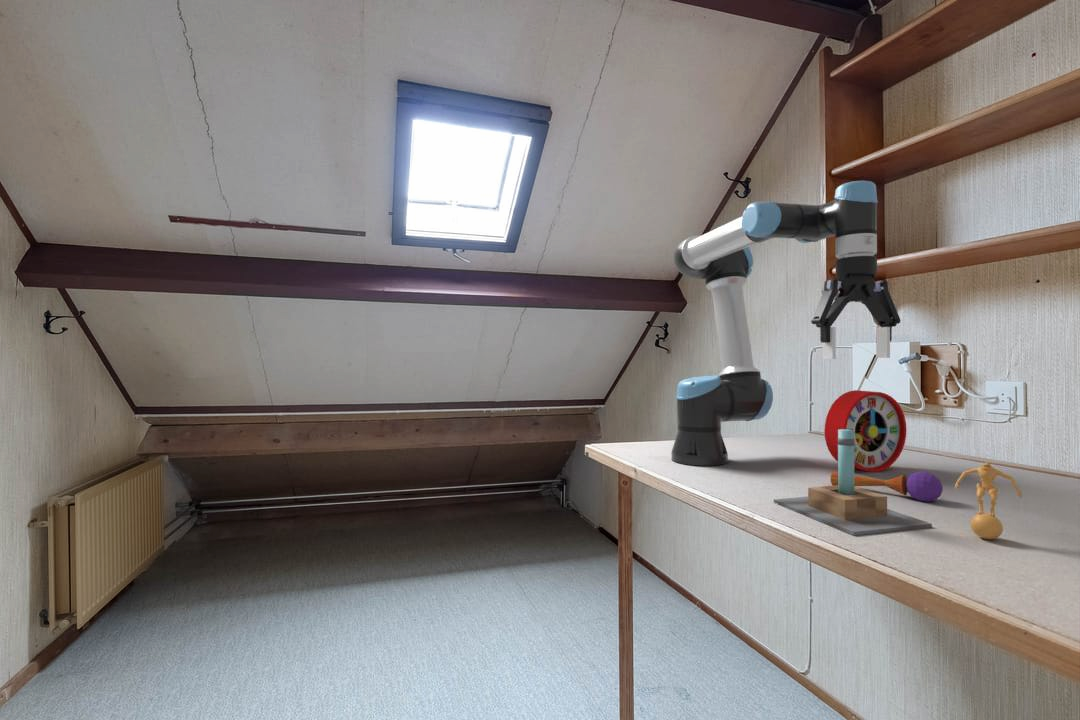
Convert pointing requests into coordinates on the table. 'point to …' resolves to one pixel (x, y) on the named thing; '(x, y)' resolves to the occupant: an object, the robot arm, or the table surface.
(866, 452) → the toy clock
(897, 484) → the kendama
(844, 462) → the banded teal rod
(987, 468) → the figurine
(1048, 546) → the table surface
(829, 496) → the gray base plate
